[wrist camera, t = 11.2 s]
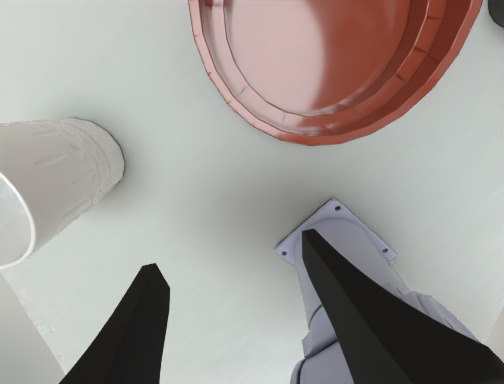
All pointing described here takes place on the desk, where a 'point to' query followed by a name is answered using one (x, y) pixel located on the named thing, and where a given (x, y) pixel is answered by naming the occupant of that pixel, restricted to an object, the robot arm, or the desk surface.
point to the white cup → (50, 180)
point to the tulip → (497, 11)
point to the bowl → (327, 60)
